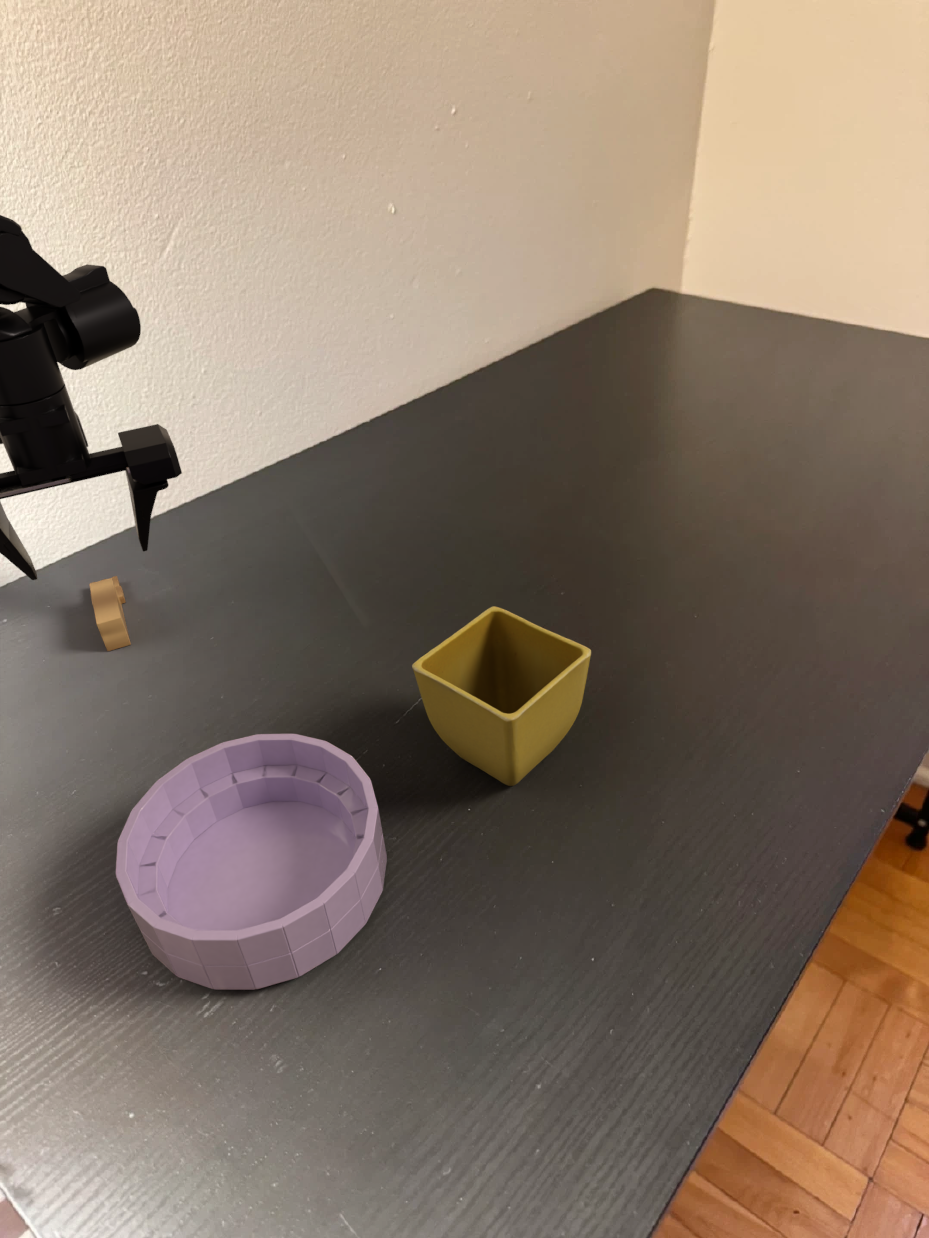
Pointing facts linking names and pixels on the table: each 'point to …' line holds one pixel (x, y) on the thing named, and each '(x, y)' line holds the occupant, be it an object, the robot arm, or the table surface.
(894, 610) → the table surface
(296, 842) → the bowl
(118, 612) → the fork
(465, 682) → the flower pot
